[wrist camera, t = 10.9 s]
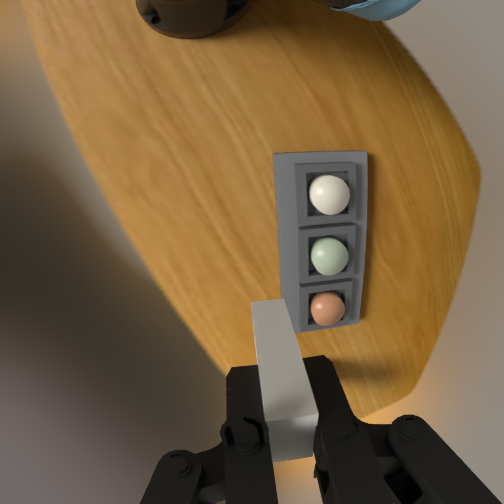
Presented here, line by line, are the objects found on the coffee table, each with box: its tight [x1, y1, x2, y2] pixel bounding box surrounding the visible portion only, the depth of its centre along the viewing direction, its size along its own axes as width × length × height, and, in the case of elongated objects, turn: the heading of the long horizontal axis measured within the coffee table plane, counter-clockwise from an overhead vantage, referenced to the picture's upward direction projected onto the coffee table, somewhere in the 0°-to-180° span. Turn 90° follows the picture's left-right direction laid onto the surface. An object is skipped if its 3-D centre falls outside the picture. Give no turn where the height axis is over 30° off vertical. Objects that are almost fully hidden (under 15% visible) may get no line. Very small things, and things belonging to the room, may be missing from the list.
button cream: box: [308, 174, 350, 215], centre depth 35 cm, size 5×5×2 cm
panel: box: [273, 151, 368, 333], centre depth 39 cm, size 26×12×4 cm, turn 5°
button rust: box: [309, 290, 345, 326], centre depth 41 cm, size 5×5×2 cm
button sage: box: [309, 235, 348, 276], centre depth 38 cm, size 5×5×2 cm
